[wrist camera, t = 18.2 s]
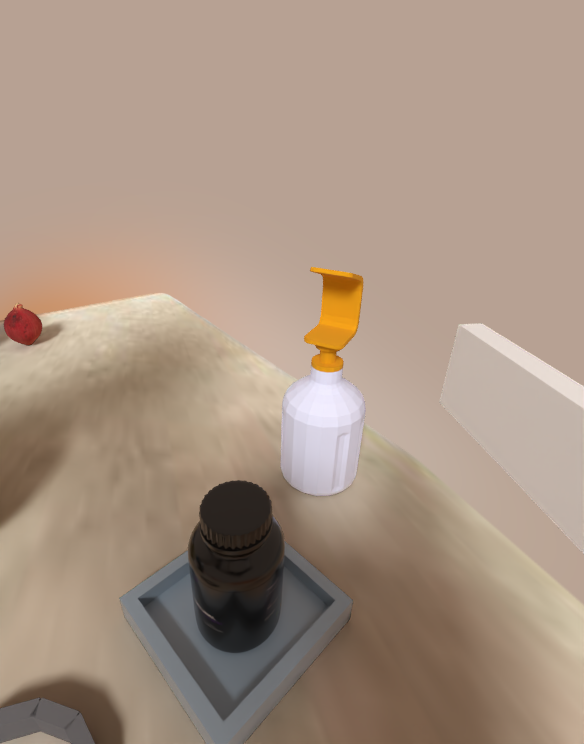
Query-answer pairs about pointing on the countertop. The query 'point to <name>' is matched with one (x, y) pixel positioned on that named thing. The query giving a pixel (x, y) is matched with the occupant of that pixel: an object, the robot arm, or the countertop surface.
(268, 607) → the supplement bottle
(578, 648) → the countertop surface
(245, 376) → the countertop surface
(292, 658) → the tray
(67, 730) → the holster ring
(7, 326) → the pomegranate
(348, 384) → the soap bottle
